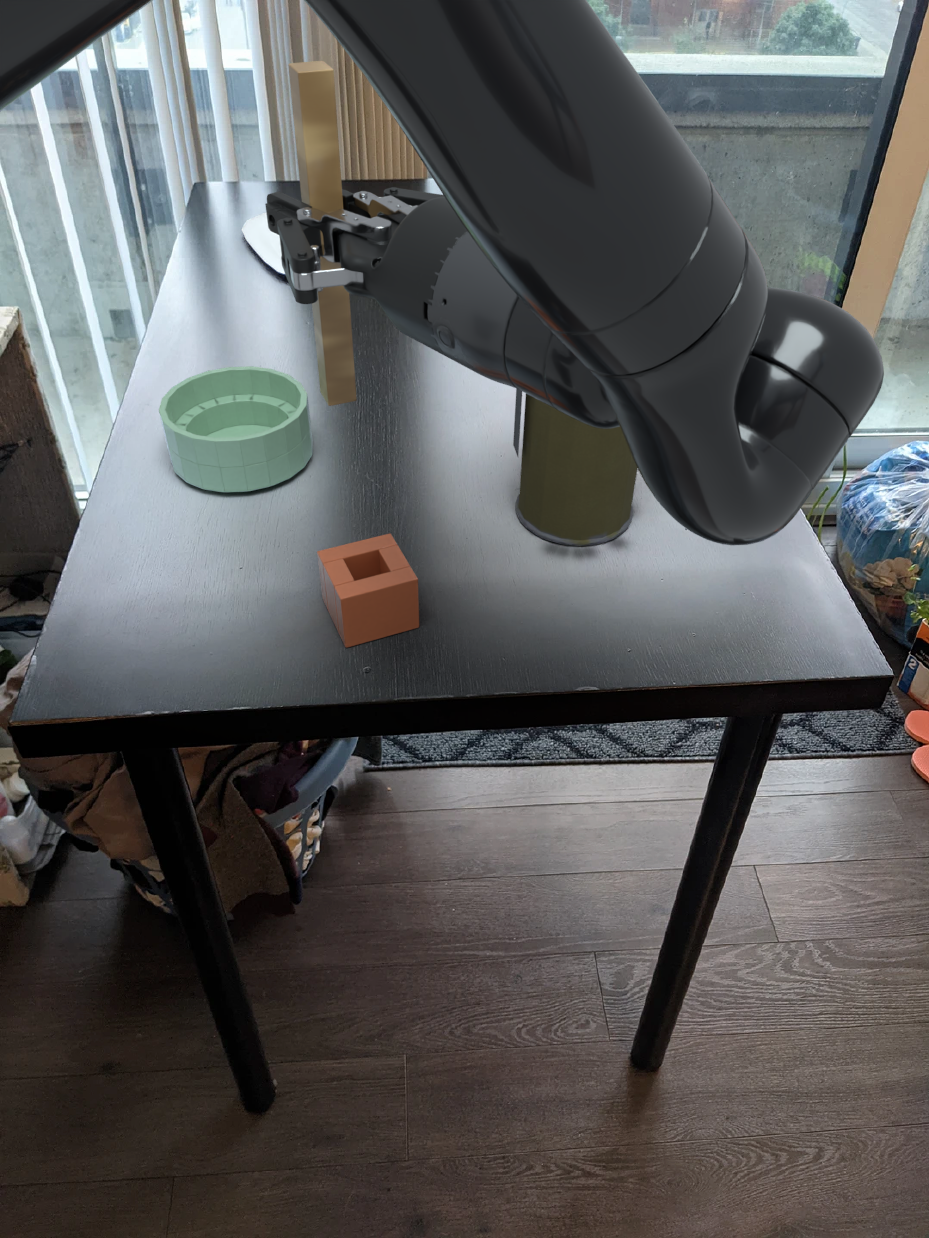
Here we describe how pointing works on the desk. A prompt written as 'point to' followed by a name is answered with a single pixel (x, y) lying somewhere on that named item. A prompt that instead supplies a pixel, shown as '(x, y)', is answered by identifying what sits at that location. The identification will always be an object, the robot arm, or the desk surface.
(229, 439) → the mixing bowl
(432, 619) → the desk surface
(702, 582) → the desk surface
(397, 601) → the orange square socket block
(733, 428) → the robot arm
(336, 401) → the stirring stick
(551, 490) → the canister
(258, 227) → the plate
